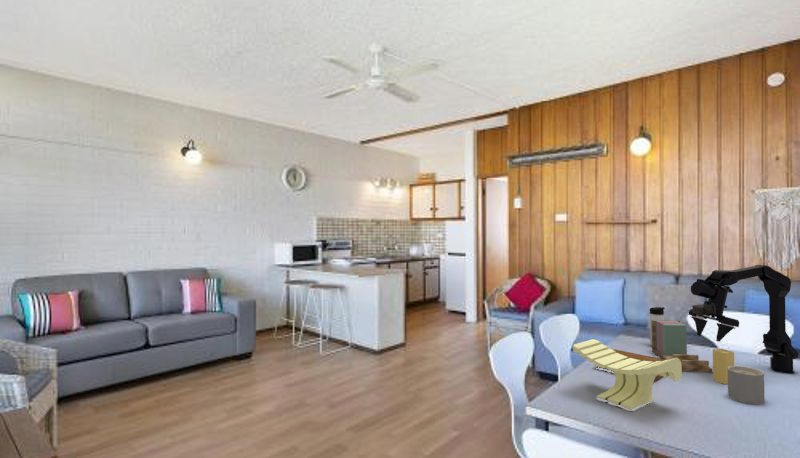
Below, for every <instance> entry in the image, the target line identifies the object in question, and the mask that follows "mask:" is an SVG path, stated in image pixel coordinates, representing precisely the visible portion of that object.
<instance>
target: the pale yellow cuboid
mask: <svg viewBox="0 0 800 458" xmlns="http://www.w3.org/2000/svg"><path fill="white" fill-rule="evenodd" d="M729 366H735V351H732V350H727V349H725V348H717V349H713V350H712V379H713V381H715V382H718V383H721V384H723V385H727V386H728V367H729Z"/></svg>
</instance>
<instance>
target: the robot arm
mask: <svg viewBox="0 0 800 458" xmlns="http://www.w3.org/2000/svg"><path fill="white" fill-rule="evenodd" d="M756 277H757V278H758V280H760V281H761V282H762V283H763V287H764V291H765V292H766V293H767V294H768V299H769V301H768V302H769V303H768V304H769V306H768V307H769V308H768V309H769V313H768V314H769V318H768V319H769V330H768V331H767V332H766V333H763V334H762V339H763V341H762V344H763V345H764V347H765V349H766V352H767V353H768V354H771V356H770V357H769V367H770V368H771V369H772V370H773V372H778V373H779V372H780V373H786V374H795V371H794V360H795V359H798V358H799V355H800V353H799V351H797V350H796V349H795V348H794V347H793V346H792V339H791V337H790V336H789V334H788V333H787V332H786V330H787V329H786V296H787V295H788V294H789V293H790V291H791V286H792V279H791V278H789V277H788V275H784V274H783V273H782V272H779V271H777V270H775V269H773V267H771V266H769V265H768V264H767V265H766V264H756V265H753V266H748V267H742V268H737V269H733V270H732V269H731V270H728V269H726V270H725V269H718V270H717V269H716V270H713V271H711V273H710V274H709V276H707V277H706V278H705V279H701V278H697V279H696V281H695V282H693V283H692V284H691V285H690V292H691V294H692V295H693V296H697V297H700V298H704V299H705V298H706V299H707V300H705V301H704V302H703V304H702V303H701V304H694V305H691V307H692V308H690V309H689V310H688V316H690V318H692V320H693V321H694V324H695V328H696V329H695V330H696V334H697V336H699V337H700V336H701V335H702V334H703V332H704V330H705V327H706V325H707V323H708V320H712V321H716V325H717V333H716V339H715V341H716V342H721V340H723V339H724V337H726V336H727V335H728V334H729V333H730V332H731V331H732V330H735V329H736V328H739V327H740V321H739V320H738V319H736V318H732V317H727V316H726V315H724V311H725V309H728V305H726V302H727V297H728V294H733V293H734V291H733V289H731V286H732V285H734V284H735V285H736V284H737V283H738V282H739V281H740V280H748V279H752V278H756ZM707 319H708V320H707Z"/></svg>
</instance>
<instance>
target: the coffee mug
mask: <svg viewBox="0 0 800 458" xmlns="http://www.w3.org/2000/svg"><path fill="white" fill-rule="evenodd" d="M727 396H728V398H730V399H732V400H734V401H736V402H740V403H742V404H749V405H763V404H765V399H766V398H765V373H764V371H763V370H761V369H758V368H755V367H751V366H745V365H734V366H729V367H728V384H727Z"/></svg>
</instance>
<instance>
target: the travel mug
mask: <svg viewBox="0 0 800 458" xmlns="http://www.w3.org/2000/svg"><path fill="white" fill-rule="evenodd" d="M651 320H665V307H661V306H659V307H658V306H657V307H656V306H654V307H650V308H649V340H650V341H649V345H650V347H651V348H652V328H651Z"/></svg>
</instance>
